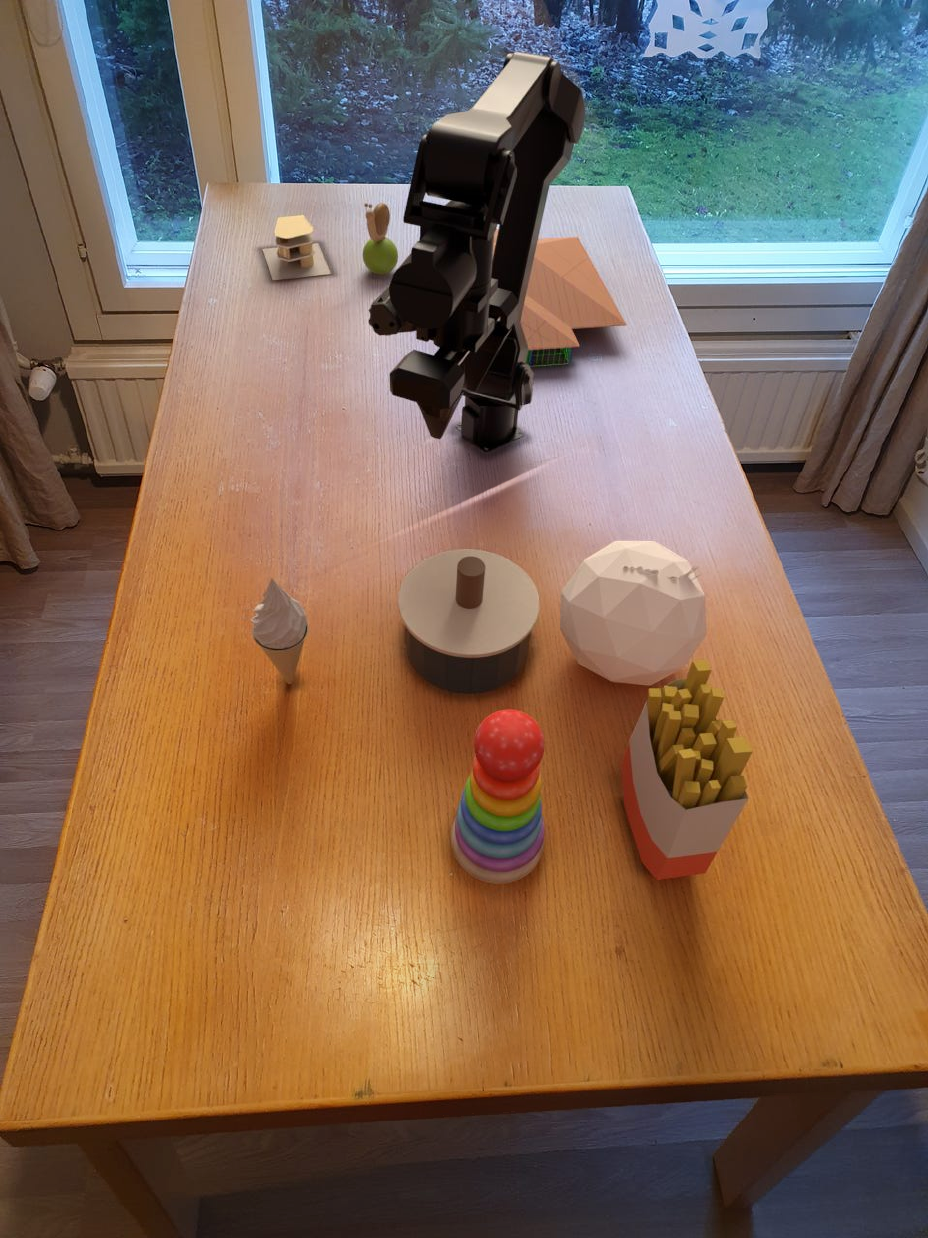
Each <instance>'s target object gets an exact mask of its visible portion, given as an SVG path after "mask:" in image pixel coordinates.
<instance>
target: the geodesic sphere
mask: <svg viewBox="0 0 928 1238" xmlns="http://www.w3.org/2000/svg"><path fill="white" fill-rule="evenodd" d="M697 569H698V566H697V567H696V566H694V567H692V565H691V563H690V561H689V560H688V559H686V558H684V557H682V556H681V555H679V554H677V553H675V552H674V551H672V550H670V549H669V548H667V547H665V546H664V545H662V544H660V543H659V542H657V541H655V540H614V541H613V542H611V543H610V544H607V545H606V546H604V547H603V548H601V549H600V550H598V551H596V552H595V553H593V554H591V555H590V556H588V557H586V558H585V559H583V560H582V561H581V563H580V564H579V566H578V567H577V568H576V570H575V571H574V573H573V574H572V576H571V577H570V578H569V580H568V581H567V582H566V584H565V585H564V587H563V588H562V589H561V591H560V618H559V631H560V633H561V634H562V636H563V637H564V640H565V641H566V644H567V645H568V647H569V649H570V651H571V653H572V655H573V656H574V659H575V661H576V662H577V664H578V665H579V666H582V667H584V668H585V669H587V670H589V671H591V672H593V673H595V674H597V676H600V677H602V678H603V679H605V680H607V681H609V682H611V683H618V684H619V683H620V684H628V685H629V684H631V685H641V686H649V687H650V686H652V685H654V684H656V683H658V682H659V681H661V680H664V679H666V678H668V677H670V676H671V675H674V674H675V673H677V672H679V671H681V670H683V669H684V668H686V666H687V665H688V664H689V662H690V661H691V659H692V657H693V656H694V654H695V653H696V651H697V650H698V649H699V647H700V645H701V643H702V642H703V640H705V637H706V636H707V607H706V595H705V593H704V590H703V589H702V587H701V585H700V581H699V580H698V578H699V577H700V576H702V573H700V574H698V575H696V574H695V571H696V570H697Z"/></svg>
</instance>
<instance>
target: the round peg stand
mask: <svg viewBox="0 0 928 1238" xmlns="http://www.w3.org/2000/svg"><path fill="white" fill-rule="evenodd" d="M540 605H541V604H540V595H539V592H538V589H537V586H536V585H535V583H534V581H533V580H532V578H531V577H530V575H529V574H528V573H527V572H526V571H525V570H524V569H523V568H521V567H520V565H518V564H517V563H515V562H513V561H512V560H511V559H509V558H507V557H505V556H502V555H500V554H497V553H493V552H491V551H487V550H481V549H474V548H458V549H457V548H456V549H450V550H445V551H441V552H438V553H435V554H433V555H430V556H428V557H426V558H424V559H422V560H421V561H419V562H418V563H416V564H415V565H414V566H413V567H412V568H411V569H410V570H409V571H408V572H407V574H406V575H405V577H404V578H403V579H402V581H401V584H400V587H399V589H398V594H397V607H398V613H399V615H400V618H401V620H402V623H403V624H404V627H405V626H406V628H407V629H408V630H409V632H410V633H411V634H412V635H413V636H414V637H415V638H416V639H417V640H419V641H420V642H421V643H423V644H424V645H426V646H428V647H429V648H431V649H434V650H436V651H438V652H441V653H444V654H447V655H451V656H456V657H465V658H479V657H487V656H491V655H496V654H499V653H502V652H505V651H507V650H509V649H511V648H513V647H514V646H516V645H517V644H519V643H520V642H521V641H522V640H524V639H525V638H526V637H527V636H528V634H529V633H530V632H531V633H532V631H533V629H534V628H535V626H536V624H537V621H538V618H539V614H540Z"/></svg>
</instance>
